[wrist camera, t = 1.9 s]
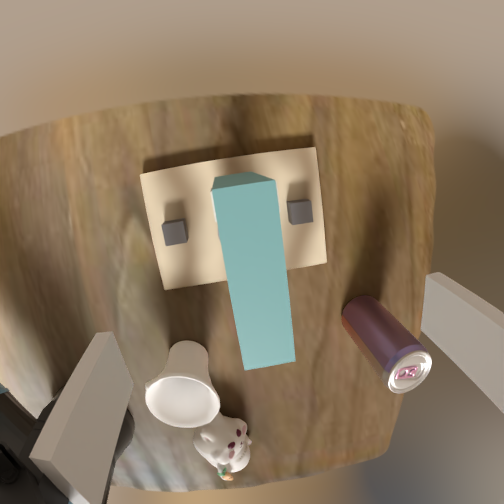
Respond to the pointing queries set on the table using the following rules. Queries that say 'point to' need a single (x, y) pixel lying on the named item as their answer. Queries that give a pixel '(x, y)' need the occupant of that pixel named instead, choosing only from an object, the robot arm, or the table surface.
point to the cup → (183, 388)
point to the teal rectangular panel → (255, 266)
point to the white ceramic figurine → (224, 444)
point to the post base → (203, 221)
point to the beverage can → (386, 344)
